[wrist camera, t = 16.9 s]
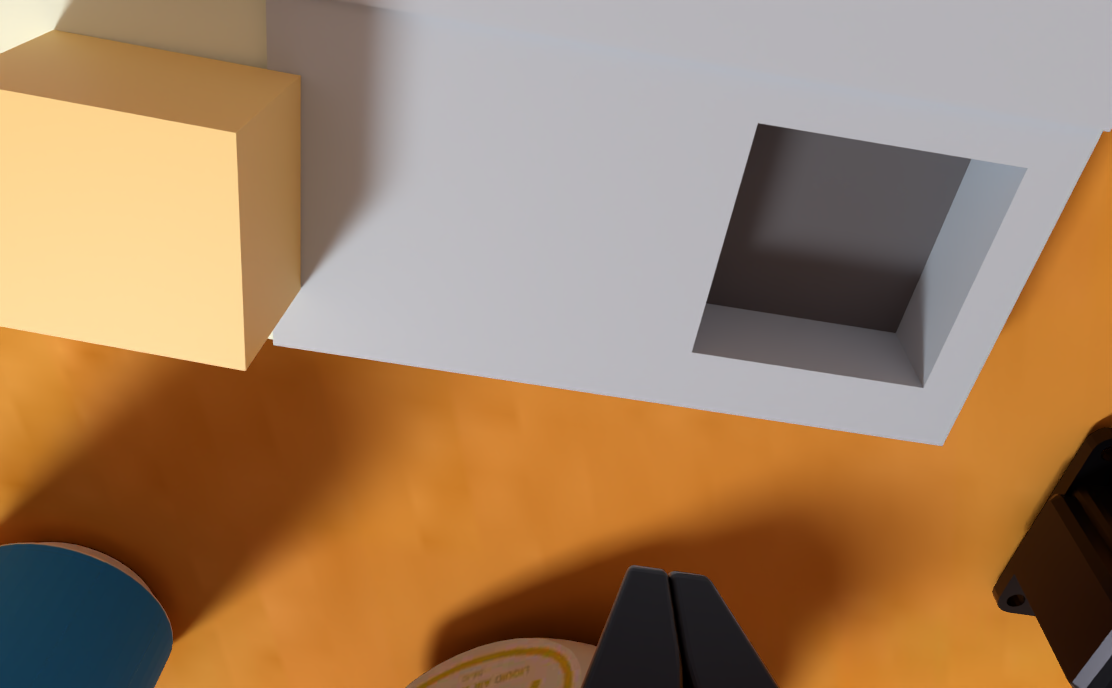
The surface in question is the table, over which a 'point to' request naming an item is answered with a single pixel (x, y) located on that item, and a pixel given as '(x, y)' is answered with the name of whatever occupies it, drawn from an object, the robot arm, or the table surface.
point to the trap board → (667, 185)
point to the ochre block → (147, 198)
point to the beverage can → (77, 620)
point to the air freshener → (513, 666)
